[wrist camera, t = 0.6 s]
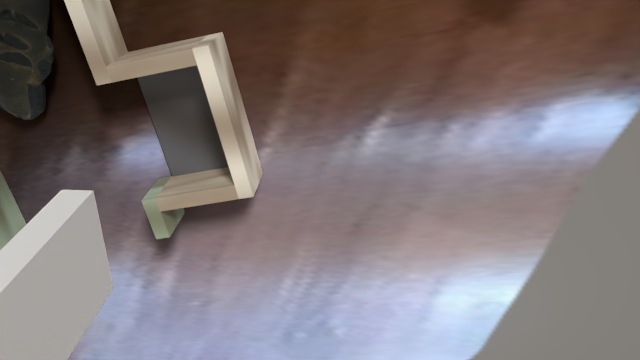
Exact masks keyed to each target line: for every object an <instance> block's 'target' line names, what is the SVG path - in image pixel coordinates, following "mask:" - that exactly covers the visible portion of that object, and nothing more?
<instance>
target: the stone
mask: <svg viewBox="0 0 640 360" xmlns="http://www.w3.org/2000/svg"><path fill="white" fill-rule="evenodd" d="M49 14H50V0H0V107H1V108H2V109H3V110H4V111H6V112H7V113H10V114H13V115H14V116H15V117H18V118H22V119H24V120H32V119H34V118H35V117H37V116H39V114H40V113H43V111H44V110H45V107H46V88H45V83H44V80H45V78H47V76H48V75H49V74H50V73H51V65H52V63H53V60H54V45H53V44H52V42H51V39H50V38H49V36H48V35H47V30H48V22H49Z"/></svg>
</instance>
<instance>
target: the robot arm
mask: <svg viewBox="0 0 640 360" xmlns="http://www.w3.org/2000/svg"><path fill="white" fill-rule="evenodd" d="M113 288H114V287H113V282H112V277H111V272H110V268H109V263H108V258H107V253H106V248H105V244H104V239H103V234H102V229H101V225H100V220H99V215H98V210H97V205H96V201H95V196H94V191H89V190H61V191H60V192H59V193H58V194H57V195H56V196H55V197H54V198H53V199H52V200H51V201H50V202H49V203H48V204H47V205H46V206H45V207H44V208H43V209H42V210H41V211H40V212H39V213H38V214H37V215H36V216H35V217H34V218H33V219H32V220H31V221H30V222H29V223H28V224H27V225H25V226H24V227H23V228H22V229H21V230H20V231H19V232H18V233H17V234H16V235H15V236H14V237H13V238H12V239H11V240H10V241H9V242H8V243H7V244H6V245H5V246H4V247H3V248H2V249H1V250H0V360H67V359H68V358H69V356H70V355H71V353H72V351H73V350H74V348H75V347H76V345H77V344H78V342H79V341H80V339H81V338H82V336H83V334H84V333H85V331H86V330H87V328H88V327H89V325H90V324H91V322H92V321H93V319H94V318H95V316H96V314H97V313H98V311H99V310H100V308H101V307H102V305H103V304H104V302H105V301H106V299H107V297H108V296H109V294H110V293H111V291H112V290H113Z"/></svg>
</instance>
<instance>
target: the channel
mask: <svg viewBox="0 0 640 360" xmlns="http://www.w3.org/2000/svg"><path fill="white" fill-rule="evenodd" d="M64 2H65V4H66V7H67V9H68V12H69V15H70V17H71V20H72V22H73V25H74V28H75V30H76V33H77V35H78V38H79V41H80V43H81V46H82V48H83V51H84V54H85V56H86V59H87V61H88V64H89V67H90V69H91V72H92V74H93V77H94V79H95V82H96V85H97V86H98V85H102V84H107V83H112V82H117V81H122V80H127V79H132V78H137V79H138V82H139V84H140V87H141V90H142V93H143V96H144V98H145V101H146V104H147V107H148V110H149V113H150V115H151V118H152V121H153V124H154V127H155V129H156V132H157V135H158V138H159V141H160V143H161V146H162V149H163V152H164V155H165V157H166V160H167V163H168V166H169V169H170V172H171V174H172V176H167V177H161V178H158V180H157V181H156V182H155V184H154V185H153V186H152V187H151V189H150V190H149V191H148V193H147V194H146V195H145V197H144V198H143V199H142V204H143V206H144V209H145V212H146V214H147V217H148V219H149V222H150V225H151V227H152V230H153V232H154V235H155V238H156V239H162V238H168V237H170V236H171V235H172V233H173V231H174V230H175V228H176V226H177V225H178V223H179V221H180V220H181V218H182V216H183V215H184V213H185V211H184V208H186V207H193V206H199V205H205V204H211V203H218V202H224V201H230V200H236V199H243V198H249V197H254V194H255V192H256V190H257V187H258V185H259V182H260V180H261V178H262V175H263V171H262V168H261V164H260V161H259V157H258V154H257V150H256V147H255V144H254V140H253V137H252V133H251V130H250V126H249V123H248V119H247V116H246V112H245V109H244V105H243V102H242V98H241V95H240V91H239V88H238V84H237V81H236V77H235V74H234V70H233V67H232V63H231V60H230V56H229V53H228V50H227V46H226V43H225V39H224V36H223V32H220V33H216V34H211V35H206V36H202V37H197V38H192V39H187V40H183V41H178V42H173V43H169V44H164V45H159V46H154V47H150V48H145V49H140V50H136V51H131V52H128V51H127V48H126V45H125V43H124V40H123V37H122V34H121V31H120V28H119V26H118V23H117V20H116V17H115V14H114V12H113V9H112V6H111V3H110V0H64ZM25 225H27V224H26V222H25V220H24V218H23V216H22V214H21V212H20V209H19V207H18V205H17V203H16V201H15V199H14V197H13V195H12V193H11V191H10V189H9V187H8V185H7V183H6V180H5V178H4V176H3V174H2V172H1V170H0V250H1V249H2V248H3V247H4V246H5V245H6V244H7V243H8V242H9V241H10V240H11V239H12V238H13V237H14V236H15V235H16V234H17V233H18V232H19V231H20V230H21V229H22V228H23V227H24V226H25Z"/></svg>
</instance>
